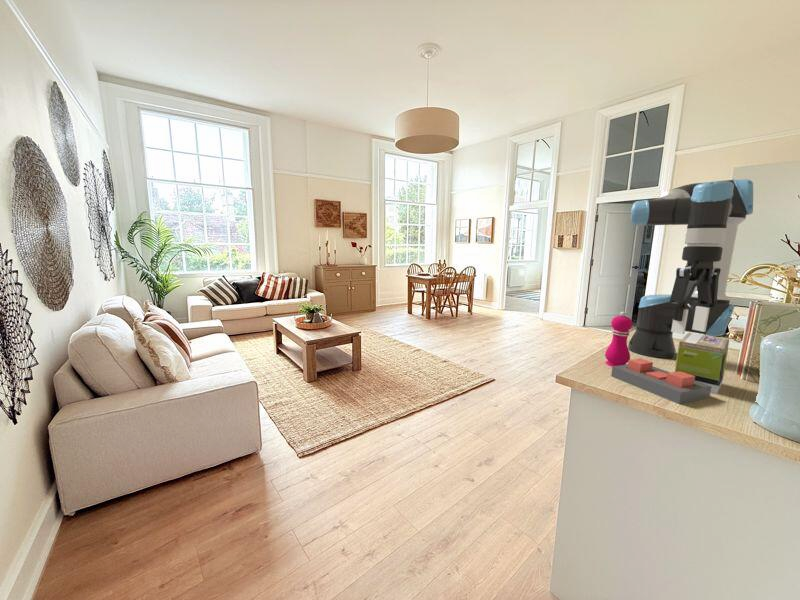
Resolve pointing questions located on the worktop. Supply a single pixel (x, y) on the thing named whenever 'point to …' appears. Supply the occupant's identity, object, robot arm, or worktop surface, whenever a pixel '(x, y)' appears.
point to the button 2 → (657, 375)
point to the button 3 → (680, 379)
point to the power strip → (661, 385)
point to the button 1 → (640, 365)
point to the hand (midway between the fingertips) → (688, 331)
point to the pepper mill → (619, 341)
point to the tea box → (703, 358)
